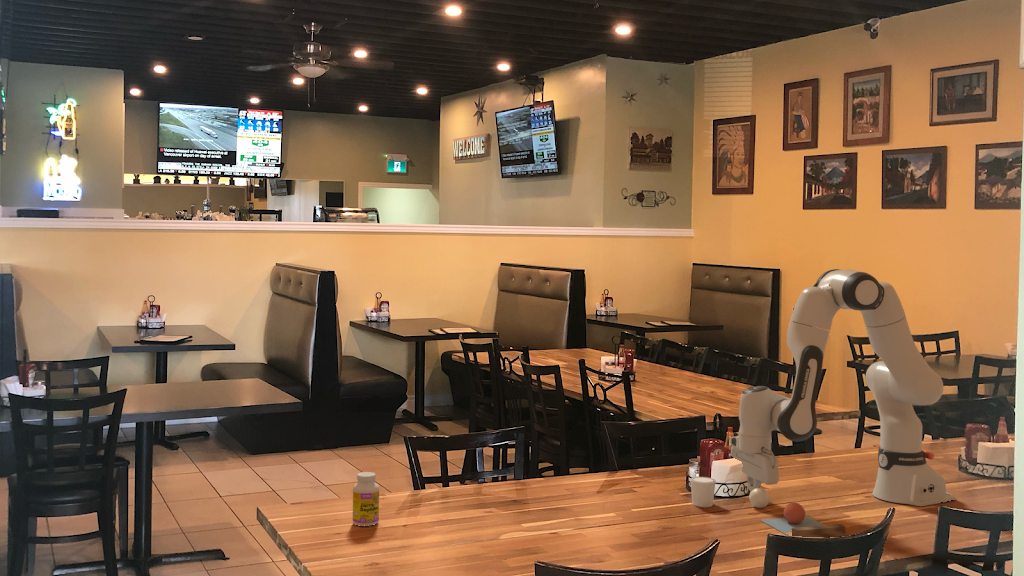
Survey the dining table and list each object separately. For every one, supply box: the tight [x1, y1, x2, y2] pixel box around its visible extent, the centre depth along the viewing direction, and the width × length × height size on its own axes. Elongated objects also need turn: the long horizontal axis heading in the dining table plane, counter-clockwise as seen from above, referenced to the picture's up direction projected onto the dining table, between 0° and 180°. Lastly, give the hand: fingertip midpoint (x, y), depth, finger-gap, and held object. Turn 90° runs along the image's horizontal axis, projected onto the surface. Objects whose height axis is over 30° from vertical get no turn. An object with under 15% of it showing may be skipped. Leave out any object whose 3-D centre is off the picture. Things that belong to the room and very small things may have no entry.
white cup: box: [690, 476, 717, 508], centre depth 254 cm, size 7×7×7 cm
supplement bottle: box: [352, 471, 380, 526], centre depth 233 cm, size 7×7×13 cm
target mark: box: [760, 515, 825, 536], centre depth 235 cm, size 14×14×1 cm
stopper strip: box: [792, 523, 846, 538], centre depth 227 cm, size 14×2×2 cm, turn 106°
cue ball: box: [748, 487, 770, 509], centre depth 251 cm, size 5×5×5 cm
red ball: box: [783, 502, 806, 524], centre depth 238 cm, size 5×5×5 cm
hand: (754, 492), depth 257 cm, fingers closed
